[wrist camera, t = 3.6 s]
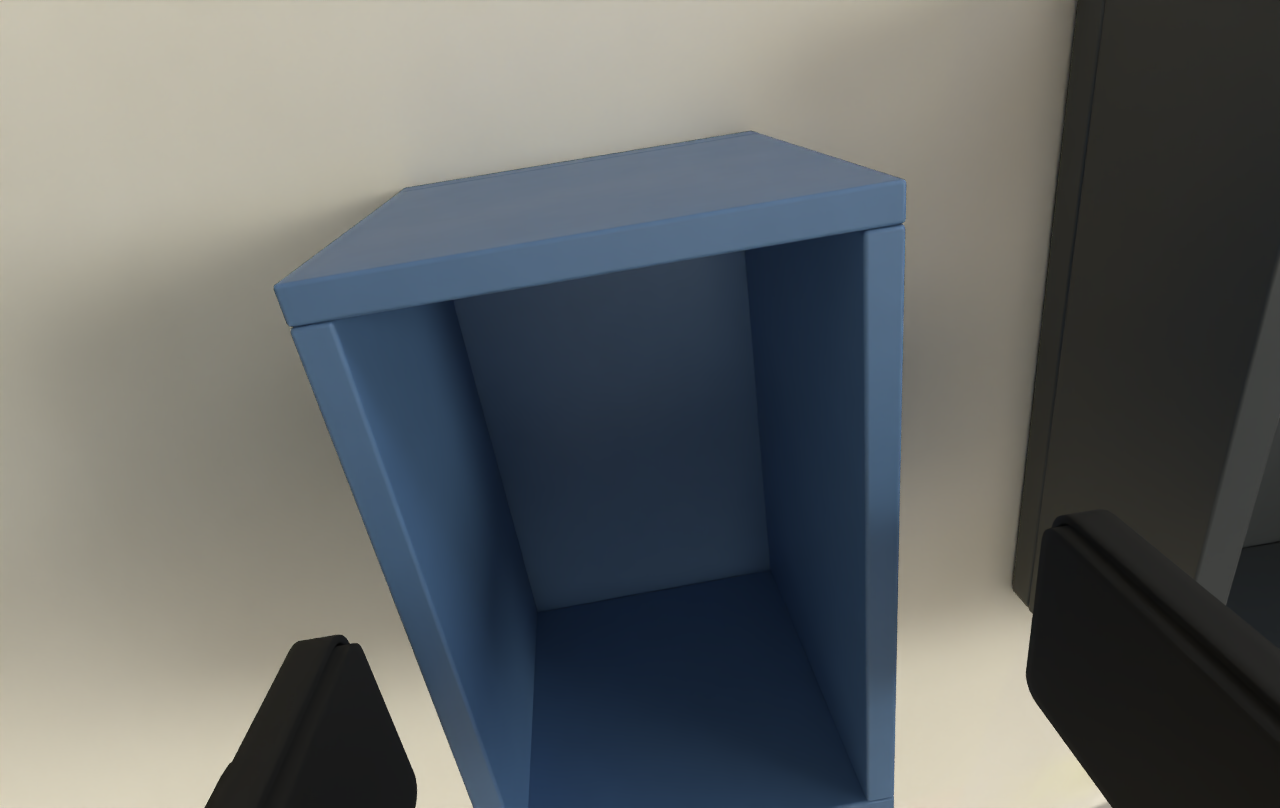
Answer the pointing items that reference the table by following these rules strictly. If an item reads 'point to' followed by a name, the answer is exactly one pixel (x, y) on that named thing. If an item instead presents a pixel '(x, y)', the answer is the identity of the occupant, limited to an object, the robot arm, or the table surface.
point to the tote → (1167, 297)
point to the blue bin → (633, 467)
